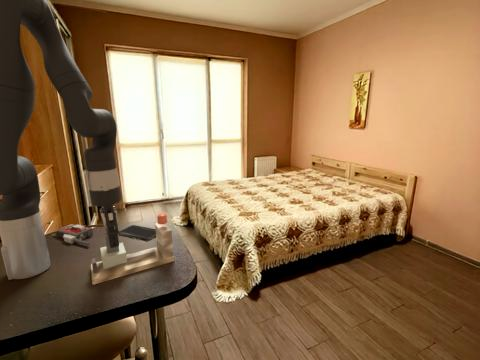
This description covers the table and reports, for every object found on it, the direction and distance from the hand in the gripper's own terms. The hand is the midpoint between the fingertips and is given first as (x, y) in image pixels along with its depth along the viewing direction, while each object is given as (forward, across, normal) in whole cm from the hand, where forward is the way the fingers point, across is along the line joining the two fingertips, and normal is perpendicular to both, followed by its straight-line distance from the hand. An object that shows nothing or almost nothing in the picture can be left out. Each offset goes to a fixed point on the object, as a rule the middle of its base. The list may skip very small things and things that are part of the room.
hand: (112, 240), depth 73 cm
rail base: (+9, 0, +5) cm, 10 cm away
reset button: (-2, 0, +14) cm, 14 cm away
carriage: (+6, 0, 0) cm, 6 cm away
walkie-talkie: (+9, -30, -9) cm, 33 cm away
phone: (+10, -22, +11) cm, 26 cm away
